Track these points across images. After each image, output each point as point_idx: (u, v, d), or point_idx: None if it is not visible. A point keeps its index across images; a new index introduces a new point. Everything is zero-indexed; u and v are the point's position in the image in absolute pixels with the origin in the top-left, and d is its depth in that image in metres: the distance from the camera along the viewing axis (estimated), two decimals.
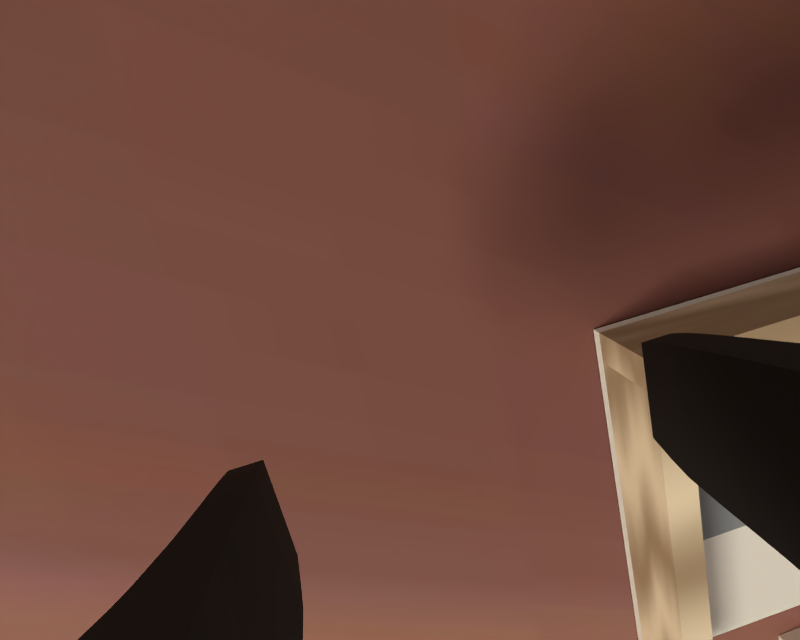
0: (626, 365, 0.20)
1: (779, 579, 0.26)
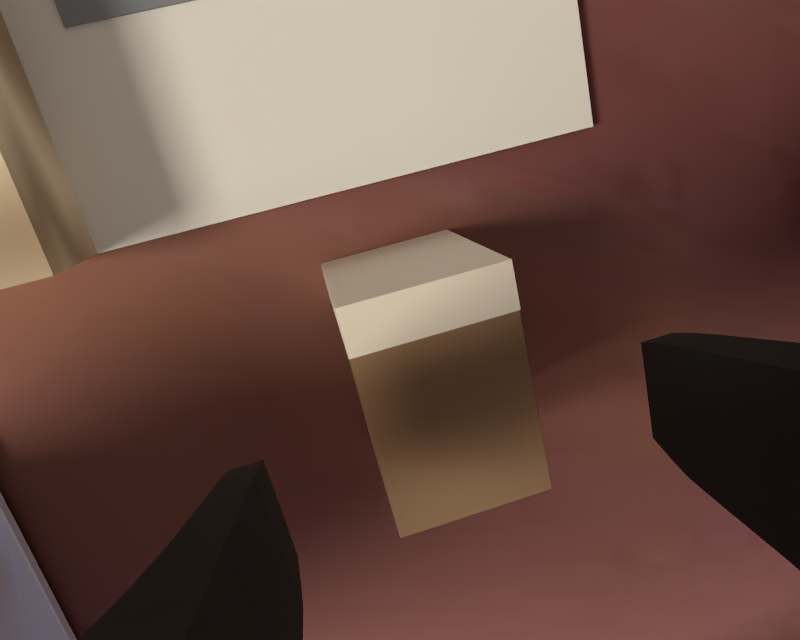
0: None
1: (276, 136, 0.16)
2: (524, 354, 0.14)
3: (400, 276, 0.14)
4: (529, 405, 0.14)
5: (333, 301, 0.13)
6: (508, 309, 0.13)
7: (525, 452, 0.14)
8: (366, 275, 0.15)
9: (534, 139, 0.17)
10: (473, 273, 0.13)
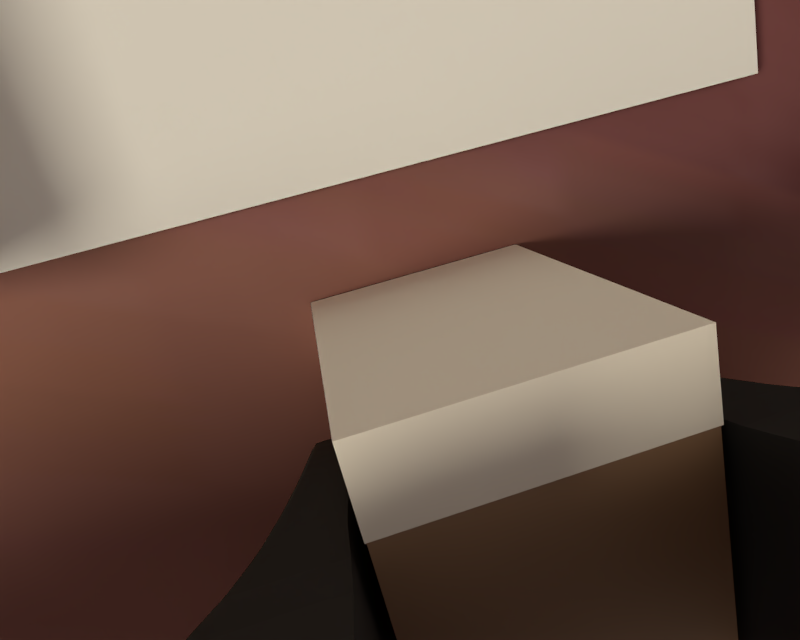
0: None
1: (231, 86, 0.09)
2: (722, 510, 0.07)
3: (465, 350, 0.07)
4: (721, 602, 0.07)
5: (330, 412, 0.06)
6: (700, 424, 0.06)
7: None
8: (393, 339, 0.08)
9: (663, 94, 0.11)
10: (635, 355, 0.06)
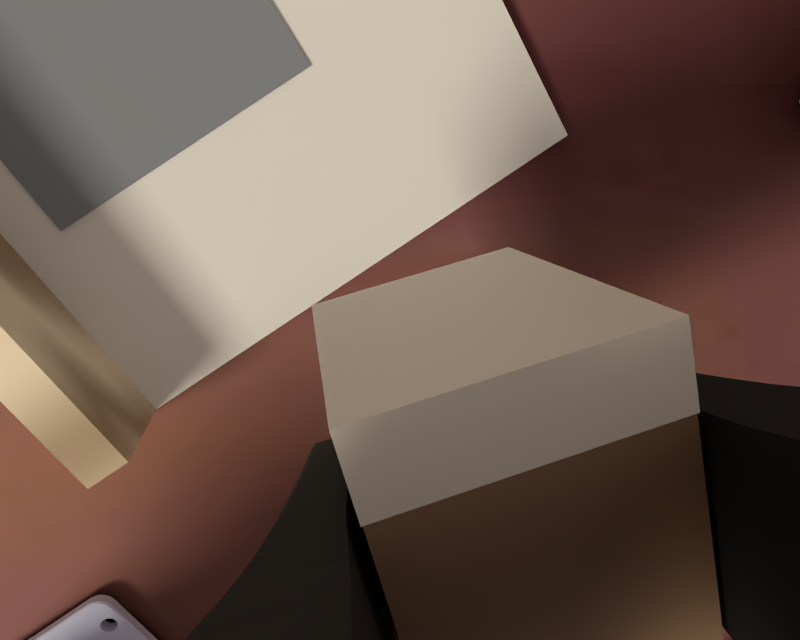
0: None
1: (275, 253, 0.17)
2: (701, 495, 0.07)
3: (455, 345, 0.07)
4: (703, 584, 0.07)
5: (327, 404, 0.07)
6: (676, 412, 0.07)
7: None
8: (388, 337, 0.08)
9: (514, 168, 0.18)
10: (613, 348, 0.06)
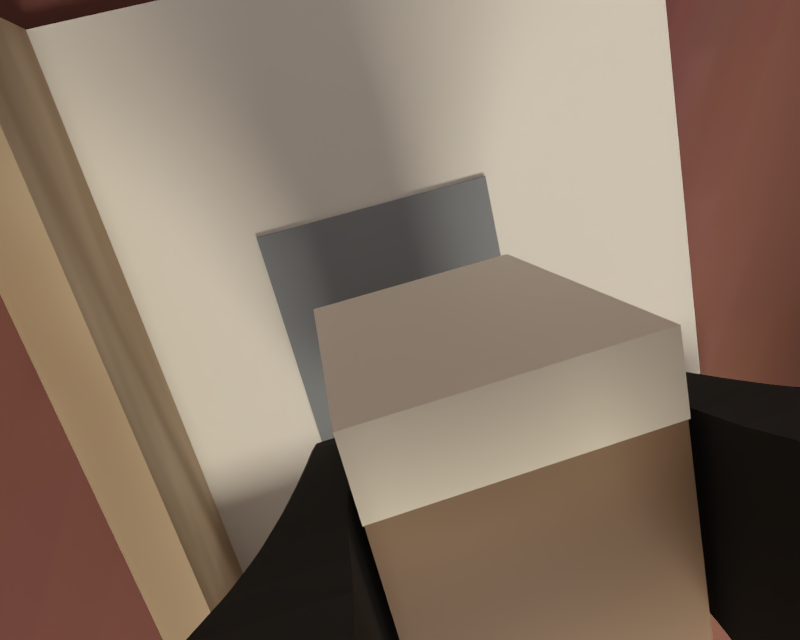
0: None
1: (629, 273, 0.17)
2: (691, 498, 0.07)
3: (455, 351, 0.07)
4: (693, 585, 0.08)
5: (331, 407, 0.07)
6: (667, 418, 0.07)
7: None
8: (390, 342, 0.08)
9: None
10: (607, 356, 0.07)
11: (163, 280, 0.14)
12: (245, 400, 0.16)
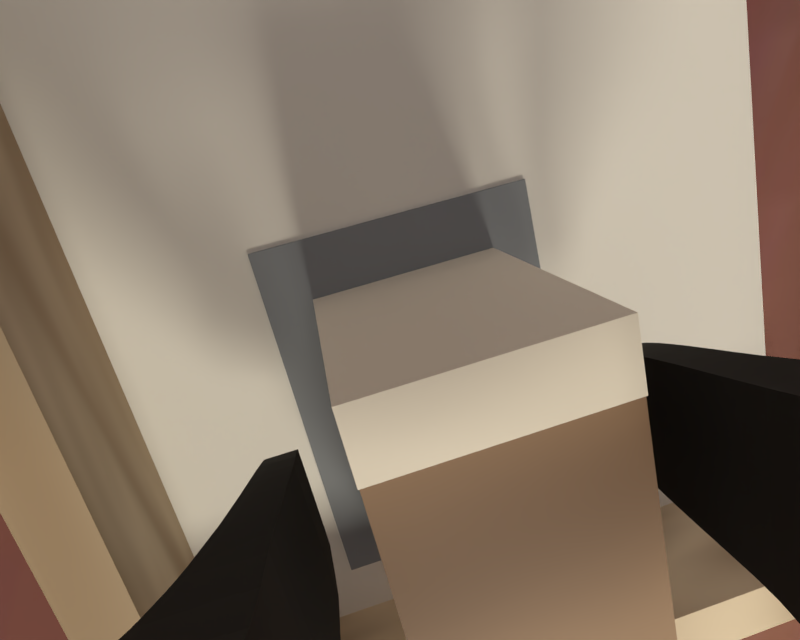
0: None
1: (691, 294, 0.14)
2: (650, 466, 0.08)
3: (440, 337, 0.08)
4: (653, 544, 0.09)
5: (330, 386, 0.08)
6: (627, 395, 0.08)
7: (642, 614, 0.09)
8: (383, 329, 0.09)
9: None
10: (572, 339, 0.07)
11: (133, 307, 0.12)
12: (235, 448, 0.13)
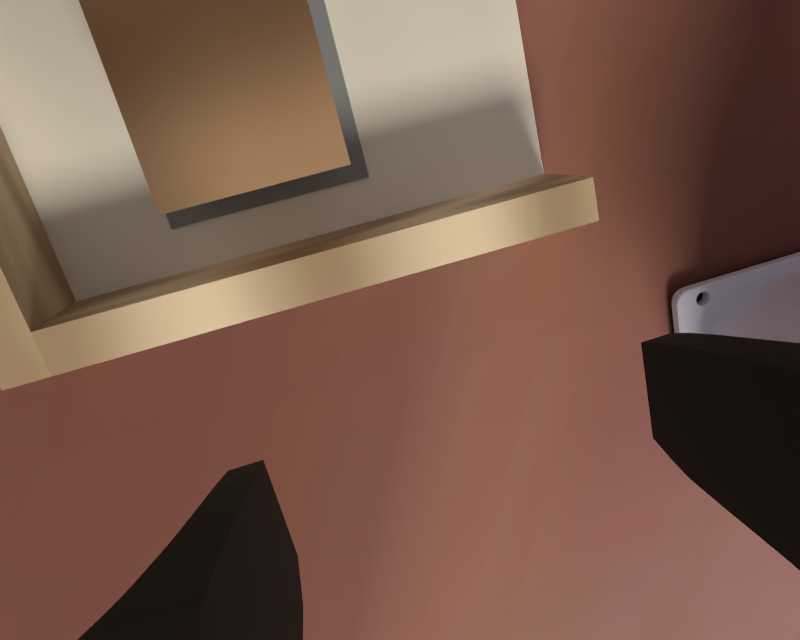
0: None
1: None
2: None
3: None
4: (308, 41, 0.11)
5: None
6: None
7: (310, 108, 0.12)
8: None
9: None
10: None
11: None
12: (61, 102, 0.16)
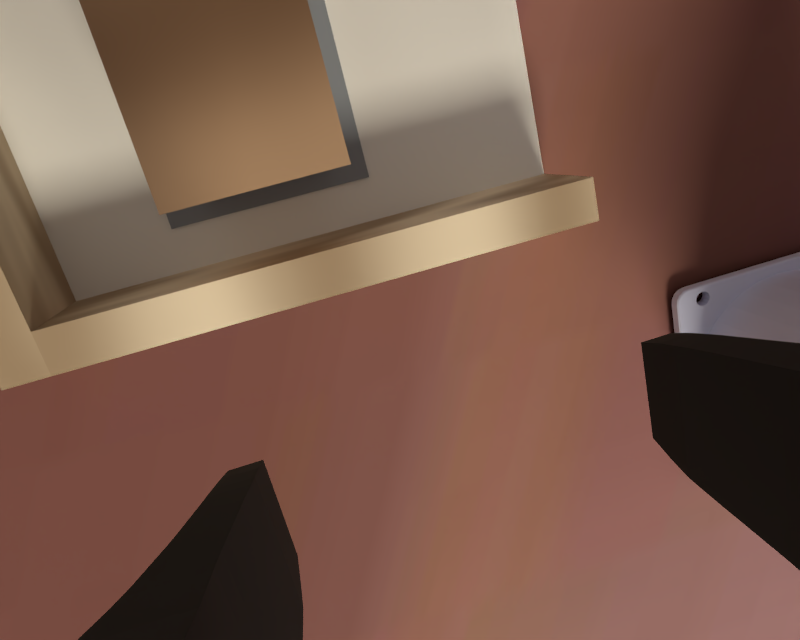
0: None
1: None
2: None
3: None
4: (308, 41, 0.11)
5: None
6: None
7: (310, 108, 0.12)
8: None
9: None
10: None
11: None
12: (61, 102, 0.16)
